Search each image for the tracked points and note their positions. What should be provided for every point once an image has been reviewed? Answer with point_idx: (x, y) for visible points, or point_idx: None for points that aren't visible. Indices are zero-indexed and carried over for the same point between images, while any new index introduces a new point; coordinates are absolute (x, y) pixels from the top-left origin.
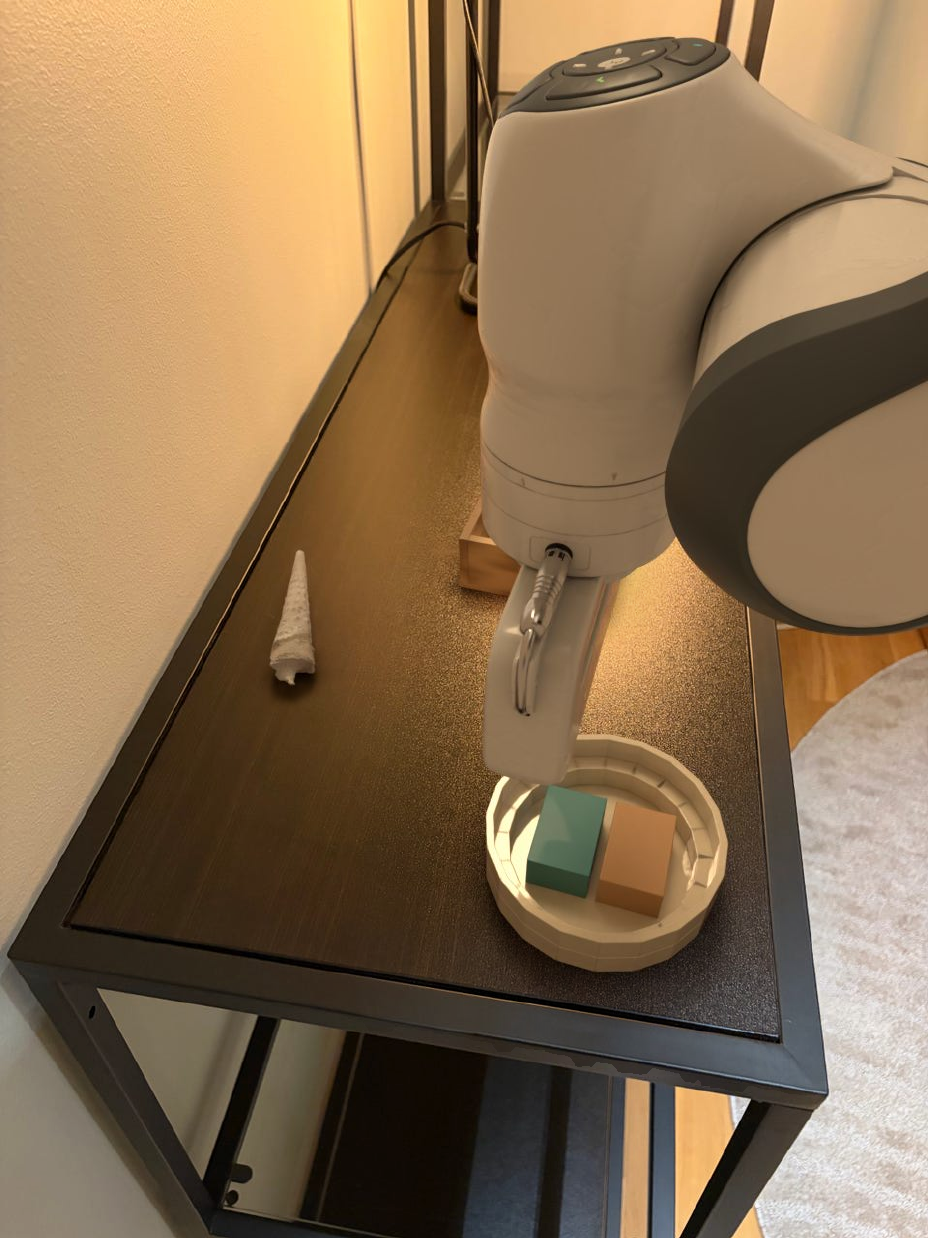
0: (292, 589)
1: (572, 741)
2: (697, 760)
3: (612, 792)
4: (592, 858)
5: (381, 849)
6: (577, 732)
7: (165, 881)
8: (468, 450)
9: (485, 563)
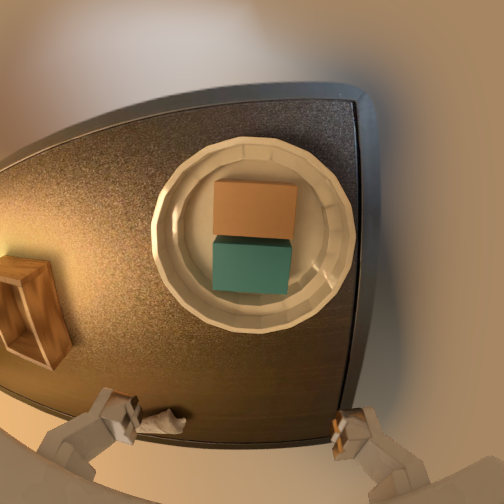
0: None
1: (493, 494)
2: (138, 167)
3: (188, 229)
4: (274, 247)
5: (274, 359)
6: (465, 493)
7: (309, 423)
8: None
9: (55, 346)
